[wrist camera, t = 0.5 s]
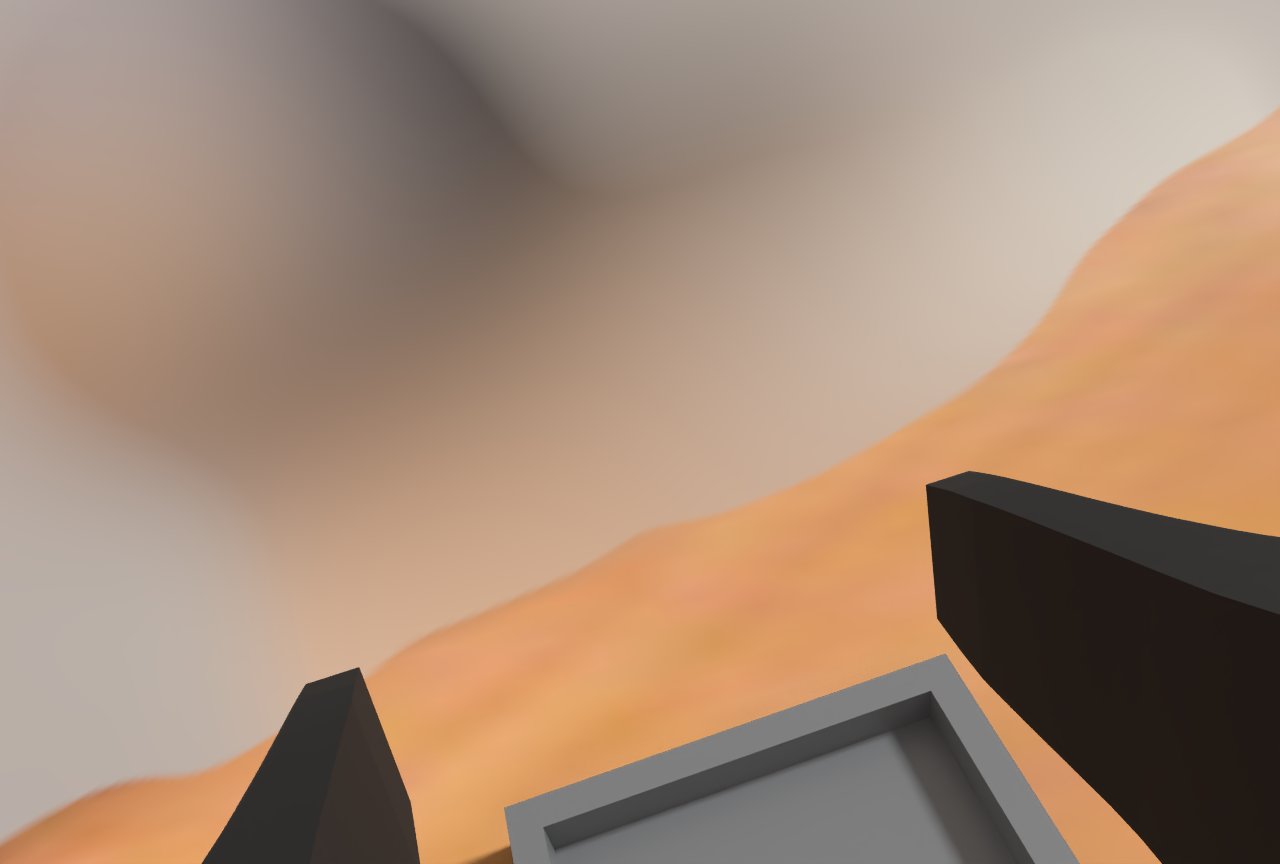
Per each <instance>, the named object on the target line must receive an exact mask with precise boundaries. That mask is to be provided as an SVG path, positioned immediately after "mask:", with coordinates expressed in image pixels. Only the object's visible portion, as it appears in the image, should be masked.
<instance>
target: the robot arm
mask: <svg viewBox="0 0 1280 864" xmlns="http://www.w3.org/2000/svg"><path fill="white" fill-rule="evenodd" d="M926 491H927V503H928V515H929V527H930V538H931V550H932V562H933V574H934V586H935V597H936V609H937V619H938V620H939V622H940V623H941V624H942V626H943V627H944V628H945V630H946V631H947V633H948V634H949V635H950V637H951V638H952V639H953V641H954V642H955V643H956V645H957V646H958V648H959V649H960V650H961V652H962V653H963V654H964V655H965V657H966V658H967V659H968V661H969V662H970V663H971V664H972V666H973V667H974V668H975V669H976V671H977V672H978V673H979V674H980V676H981V677H982V678H983V679H984V680H985V681H986V683H987V684H988V685H989V686H990V687H991V688H992V689H993V690H994V691H995V692H996V693H997V694H998V695H999V696H1000V697H1001V698H1002V699H1003V700H1004V701H1005V702H1006V703H1007V704H1008V705H1009V706H1010V707H1011V708H1012V709H1013V710H1014V711H1015V712H1016V713H1017V714H1018V715H1019V716H1020V717H1021V718H1022V719H1023V720H1024V721H1025V722H1026V723H1027V724H1028V725H1029V726H1030V727H1031V728H1032V729H1033V730H1034V731H1035V732H1036V733H1037V734H1038V735H1039V736H1040V737H1041V738H1042V739H1043V740H1044V741H1045V742H1046V743H1047V744H1048V745H1049V746H1050V747H1051V748H1052V749H1053V750H1054V751H1055V752H1056V753H1058V754H1059V755H1060V756H1061V757H1062V758H1063V759H1064V760H1065V761H1066V762H1067V763H1068V764H1069V765H1070V766H1071V767H1072V768H1073V769H1074V770H1075V771H1076V772H1077V773H1078V774H1079V775H1080V776H1081V777H1082V778H1083V779H1084V780H1085V781H1086V782H1087V783H1088V784H1089V785H1090V786H1091V787H1092V788H1093V789H1094V790H1095V791H1096V792H1097V793H1098V794H1099V795H1100V796H1101V797H1102V798H1103V799H1104V800H1105V801H1106V802H1107V803H1108V804H1109V805H1110V806H1111V807H1112V808H1113V809H1114V810H1115V811H1116V812H1117V813H1118V814H1119V815H1120V816H1121V817H1122V818H1123V820H1124V821H1125V822H1126V823H1127V824H1128V825H1129V826H1130V827H1131V828H1132V829H1133V830H1134V831H1135V832H1136V833H1137V834H1138V836H1139V837H1140V838H1141V839H1142V840H1143V841H1144V843H1145V844H1146V845H1147V846H1148V847H1149V849H1150V850H1151V851H1152V852H1153V853H1154V855H1155V856H1156V857H1157V858H1158V859H1159V861H1160V862H1161V863H1162V864H1280V537H1275V536H1267V535H1261V534H1255V533H1249V532H1243V531H1237V530H1232V529H1226V528H1221V527H1216V526H1211V525H1206V524H1201V523H1196V522H1191V521H1186V520H1181V519H1176V518H1172V517H1167V516H1163V515H1158V514H1154V513H1149V512H1145V511H1140V510H1136V509H1132V508H1128V507H1123V506H1119V505H1115V504H1111V503H1107V502H1103V501H1099V500H1095V499H1091V498H1087V497H1083V496H1079V495H1075V494H1071V493H1067V492H1063V491H1059V490H1055V489H1051V488H1047V487H1043V486H1039V485H1035V484H1031V483H1027V482H1023V481H1018V480H1014V479H1010V478H1005V477H1001V476H996V475H991V474H985V473H979V472H972V471H968V472H965V473H961V474H958V475H955V476H952V477H949V478H946V479H943V480H940V481H937V482H933V483H930V484H927V485H926ZM202 864H420V860H419V853H418V846H417V840H416V833H415V827H414V820H413V814H412V808H411V802H410V799H409V797H408V794H407V791H406V789H405V786H404V783H403V781H402V778H401V776H400V773H399V770H398V768H397V765H396V762H395V760H394V757H393V755H392V752H391V749H390V747H389V744H388V741H387V739H386V736H385V734H384V731H383V728H382V726H381V723H380V721H379V718H378V715H377V713H376V710H375V707H374V705H373V702H372V700H371V697H370V694H369V692H368V689H367V686H366V684H365V681H364V679H363V676H362V673H361V671H360V668H355V669H352V670H349V671H346V672H343V673H339V674H336V675H333V676H330V677H327V678H324V679H321V680H318V681H315V682H312V683H308V684H306V685H305V686H304V688H303V690H302V692H301V693H300V695H299V696H298V698H297V700H296V702H295V703H294V705H293V707H292V709H291V711H290V712H289V714H288V716H287V718H286V720H285V722H284V724H283V725H282V727H281V729H280V731H279V733H278V735H277V737H276V739H275V740H274V742H273V744H272V746H271V748H270V750H269V751H268V753H267V755H266V757H265V759H264V761H263V762H262V764H261V766H260V768H259V770H258V771H257V773H256V775H255V777H254V778H253V780H252V782H251V784H250V785H249V787H248V789H247V790H246V792H245V794H244V796H243V797H242V799H241V801H240V803H239V804H238V806H237V808H236V809H235V811H234V813H233V815H232V816H231V818H230V820H229V821H228V823H227V825H226V826H225V828H224V830H223V831H222V833H221V835H220V836H219V838H218V839H217V841H216V842H215V844H214V845H213V847H212V848H211V850H210V852H209V853H208V855H207V856H206V858H205V859H204V861H203V862H202Z"/></svg>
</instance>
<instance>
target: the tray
mask: <svg viewBox="0 0 1280 864" xmlns="http://www.w3.org/2000/svg"><path fill="white" fill-rule="evenodd" d="M504 810H505V816H506V822H507V827H508V833H509V839H510V845H511V851H512V857H513V863H514V864H1080V863H1079V862H1078V860H1077V859H1076V857H1075V856H1074V854H1073V852H1072V851H1071V849H1070V848H1069V846H1068V845H1067V843H1066V842H1065V840H1064V838H1063V837H1062V835H1061V834H1060V832H1059V831H1058V829H1057V827H1056V826H1055V824H1054V823H1053V821H1052V820H1051V818H1050V816H1049V815H1048V813H1047V812H1046V810H1045V809H1044V807H1043V806H1042V804H1041V802H1040V801H1039V799H1038V798H1037V796H1036V795H1035V793H1034V791H1033V790H1032V788H1031V787H1030V785H1029V784H1028V782H1027V780H1026V779H1025V777H1024V776H1023V774H1022V773H1021V771H1020V769H1019V768H1018V766H1017V765H1016V763H1015V762H1014V760H1013V759H1012V757H1011V755H1010V754H1009V752H1008V751H1007V749H1006V748H1005V746H1004V744H1003V743H1002V741H1001V740H1000V738H999V737H998V735H997V733H996V732H995V730H994V729H993V727H992V726H991V724H990V723H989V721H988V719H987V718H986V716H985V715H984V713H983V712H982V710H981V708H980V707H979V705H978V704H977V702H976V701H975V699H974V697H973V696H972V694H971V693H970V691H969V690H968V688H967V687H966V685H965V683H964V682H963V680H962V679H961V677H960V676H959V674H958V672H957V671H956V669H955V668H954V666H953V665H952V663H951V661H950V660H949V658H948V657H947V655H946V654H943V655H940V656H937V657H934V658H932V659H929V660H926V661H923V662H920V663H917V664H914V665H912V666H909V667H906V668H903V669H900V670H897V671H894V672H891V673H889V674H886V675H883V676H880V677H877V678H874V679H871V680H869V681H866V682H863V683H860V684H857V685H854V686H851V687H849V688H846V689H843V690H840V691H837V692H834V693H831V694H829V695H826V696H823V697H820V698H817V699H814V700H811V701H809V702H806V703H803V704H800V705H797V706H794V707H791V708H788V709H786V710H783V711H780V712H777V713H774V714H771V715H768V716H766V717H763V718H760V719H757V720H754V721H751V722H748V723H746V724H743V725H740V726H737V727H734V728H731V729H728V730H726V731H723V732H720V733H717V734H714V735H711V736H708V737H705V738H703V739H700V740H697V741H694V742H691V743H688V744H685V745H683V746H680V747H677V748H674V749H671V750H668V751H665V752H663V753H660V754H657V755H654V756H651V757H648V758H645V759H643V760H640V761H637V762H634V763H631V764H628V765H625V766H623V767H620V768H617V769H614V770H611V771H608V772H605V773H602V774H600V775H597V776H594V777H591V778H588V779H585V780H582V781H580V782H577V783H574V784H571V785H568V786H565V787H562V788H560V789H557V790H554V791H551V792H548V793H545V794H542V795H540V796H537V797H534V798H531V799H528V800H525V801H522V802H519V803H517V804H514V805H511V806H508V807H505V808H504Z"/></svg>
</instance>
